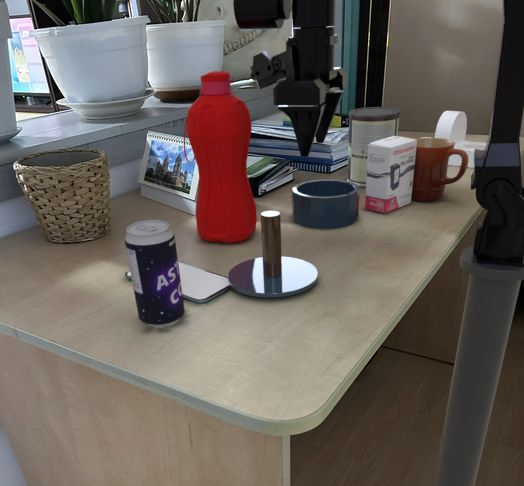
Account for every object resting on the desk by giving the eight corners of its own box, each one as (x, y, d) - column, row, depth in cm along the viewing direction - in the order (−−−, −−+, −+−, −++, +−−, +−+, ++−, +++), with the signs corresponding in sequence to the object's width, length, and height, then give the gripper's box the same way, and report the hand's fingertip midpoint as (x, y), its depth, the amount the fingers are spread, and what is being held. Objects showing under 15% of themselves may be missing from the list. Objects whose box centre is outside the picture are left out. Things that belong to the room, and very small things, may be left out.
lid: (327, 267, 79) (328, 201, 74) (304, 306, 69) (304, 233, 64) (246, 260, 83) (242, 197, 78) (214, 296, 73) (207, 226, 68)
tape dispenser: (421, 151, 139) (426, 106, 133) (492, 159, 129) (500, 110, 123) (403, 159, 133) (408, 111, 127) (476, 168, 123) (485, 117, 117)
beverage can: (165, 335, 64) (149, 238, 58) (130, 324, 67) (111, 231, 61) (194, 315, 69) (183, 222, 62) (160, 305, 71) (146, 216, 65)
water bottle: (204, 224, 98) (188, 69, 85) (262, 228, 95) (254, 67, 82) (182, 242, 91) (161, 75, 78) (244, 247, 88) (233, 74, 74)
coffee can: (338, 178, 120) (340, 110, 113) (378, 172, 123) (383, 105, 116) (361, 190, 112) (364, 116, 105) (404, 183, 115) (410, 111, 108)
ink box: (385, 214, 98) (390, 146, 92) (363, 209, 101) (367, 143, 95) (411, 203, 103) (418, 137, 97) (389, 198, 106) (394, 134, 100)
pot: (362, 210, 101) (364, 180, 98) (350, 231, 92) (352, 199, 89) (302, 206, 104) (302, 178, 102) (285, 226, 95) (284, 195, 92)
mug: (392, 199, 106) (396, 144, 100) (415, 188, 111) (420, 135, 106) (449, 210, 99) (457, 151, 93) (471, 198, 104) (480, 142, 99)
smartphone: (240, 284, 76) (161, 259, 84) (240, 280, 76) (160, 256, 84) (202, 305, 71) (121, 277, 79) (201, 302, 70) (120, 273, 79)
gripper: (276, 27, 82) (279, 136, 91) (231, 33, 67) (240, 162, 76) (349, 24, 79) (345, 137, 87) (319, 29, 64) (318, 165, 72)
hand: (312, 149), depth 81 cm, fingers open, 9 cm apart
